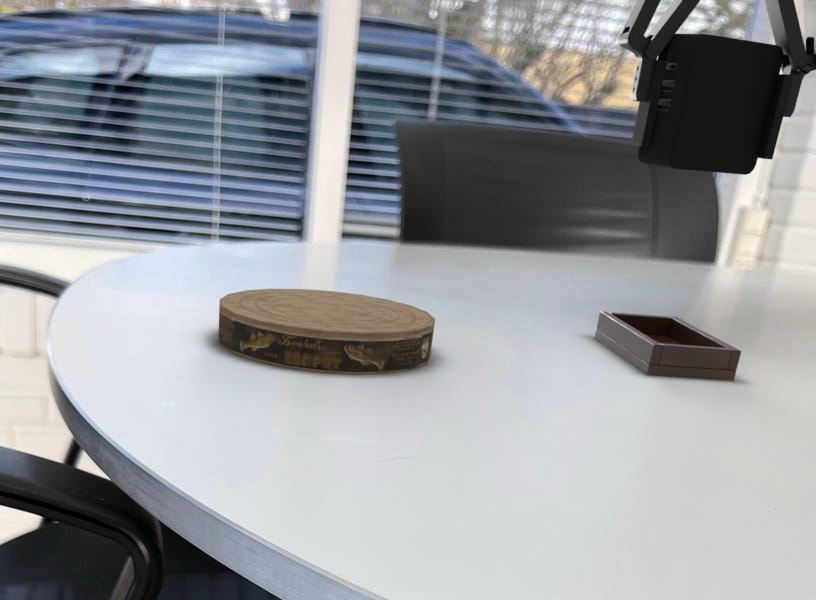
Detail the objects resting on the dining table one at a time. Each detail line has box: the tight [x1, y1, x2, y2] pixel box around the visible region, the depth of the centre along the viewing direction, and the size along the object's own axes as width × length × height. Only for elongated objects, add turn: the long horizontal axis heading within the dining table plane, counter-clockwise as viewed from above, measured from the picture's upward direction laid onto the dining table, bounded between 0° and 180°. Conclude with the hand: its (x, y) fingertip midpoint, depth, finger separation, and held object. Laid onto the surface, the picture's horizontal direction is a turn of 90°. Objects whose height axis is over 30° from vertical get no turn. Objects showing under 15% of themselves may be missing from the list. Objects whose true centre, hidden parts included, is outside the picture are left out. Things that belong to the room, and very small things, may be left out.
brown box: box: [594, 310, 742, 382], centre depth 86 cm, size 7×13×2 cm, turn 5°
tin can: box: [217, 288, 436, 376], centre depth 78 cm, size 16×16×3 cm
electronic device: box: [637, 33, 784, 176], centre depth 91 cm, size 4×10×10 cm, turn 115°
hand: (701, 152), depth 92 cm, fingers closed on electronic device, 10 cm apart
